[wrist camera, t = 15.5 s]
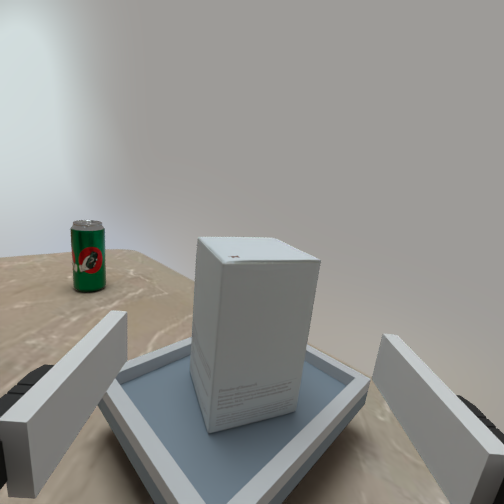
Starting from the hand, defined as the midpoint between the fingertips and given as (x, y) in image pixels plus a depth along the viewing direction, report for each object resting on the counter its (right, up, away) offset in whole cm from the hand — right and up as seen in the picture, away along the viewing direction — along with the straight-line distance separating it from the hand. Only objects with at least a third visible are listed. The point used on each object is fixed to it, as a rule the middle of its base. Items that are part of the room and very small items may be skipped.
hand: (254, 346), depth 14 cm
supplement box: (-1, -7, +10) cm, 12 cm away
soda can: (-29, -2, +37) cm, 47 cm away
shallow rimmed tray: (-2, -11, +11) cm, 16 cm away
